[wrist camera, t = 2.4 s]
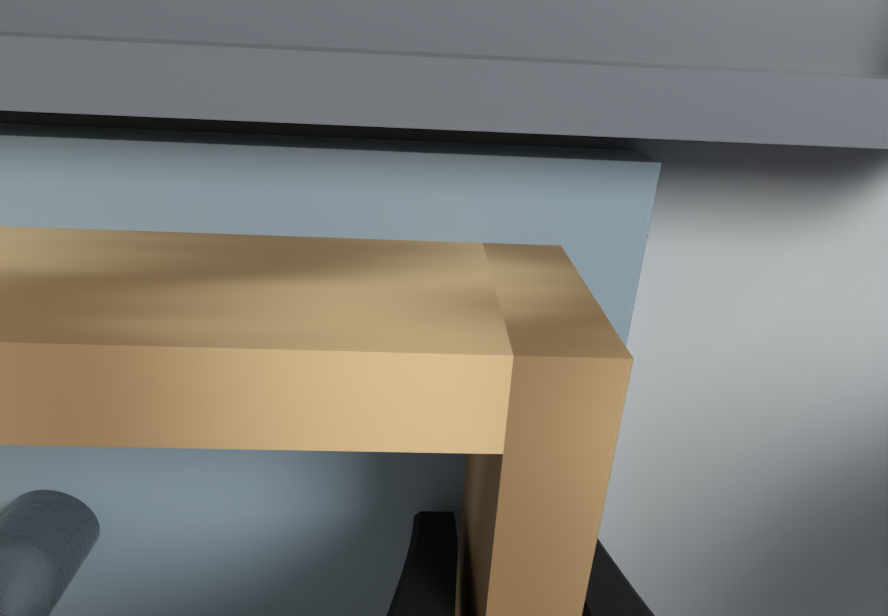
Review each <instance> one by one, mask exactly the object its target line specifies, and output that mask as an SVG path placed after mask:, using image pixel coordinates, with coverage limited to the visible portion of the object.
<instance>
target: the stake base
mask: <svg viewBox="0 0 888 616" xmlns="http://www.w3.org/2000/svg"><path fill="white" fill-rule="evenodd" d="M661 164H662V163H661V162H659V161H658V160H656V159H654V158H652V157H650V156H649V155H647V154H645V153H643V152H641V151H640V150H620V149H597V148H573V147H550V146H526V145H503V144H479V143H456V142H432V141H409V140H385V139H361V138H338V137H314V136H291V135H267V134H244V133H220V132H197V131H173V130H149V129H126V128H102V127H79V126H55V125H32V124H8V123H0V226H15V227H43V228H72V229H101V230H130V231H158V232H187V233H216V234H245V235H274V236H302V237H331V238H360V239H389V240H417V241H446V242H475V243H504V244H532V245H561V246H562V248H563V249H564V251H565V253H566V254H567V256H568V257H569V259H570V260H571V262H572V263H573V265H574V267H575V268H576V270H577V271H578V273H579V274H580V276H581V278H582V279H583V281H584V282H585V284H586V285H587V287H588V289H589V290H590V292H591V293H592V295H593V296H594V298H595V299H596V301H597V303H598V304H599V306H600V307H601V309H602V310H603V312H604V314H605V315H606V317H607V318H608V320H609V321H610V323H611V324H612V326H613V328H614V329H615V331H616V332H617V334H618V335H619V337H620V339H621V340H622V342H623V343H624V345H625V346H626V344H627V339H628V334H629V329H630V324H631V319H632V313H633V308H634V303H635V298H636V293H637V288H638V282H639V277H640V272H641V267H642V262H643V257H644V251H645V246H646V241H647V236H648V231H649V226H650V220H651V215H652V210H653V205H654V200H655V195H656V189H657V184H658V179H659V174H660V169H661ZM465 465H466V453H412V452H357V451H303V450H248V449H194V448H139V447H85V446H30V445H0V516H1V515H2V514H3V513H4V512H5V511H6V510H7V508H8V507H9V506H10V505H11V504H12V503H13V502H14V500H15V499H16V498H18V497H19V496H21V495H22V494H24V493H27V492H30V491H34V490H54V491H59V492H63V493H66V494H69V495H71V496H73V497H75V498H77V499H79V500H80V501H82V502H83V503H84V504H86V505H87V506H88V507H89V508H90V509H91V510H92V511H93V513H94V514H95V516H96V518H97V519H98V522H99V526H100V534H99V538H98V540H97V542H96V543H95V545H94V546H93V548H92V550H91V551H90V553H89V554H88V556H87V557H86V559H85V561H84V562H83V564H82V565H81V567H80V568H79V570H78V571H77V573H76V575H75V576H74V578H73V579H72V581H71V582H70V584H69V586H68V587H67V589H66V590H65V592H64V593H63V595H62V596H61V598H60V600H59V601H58V603H57V604H56V606H55V607H54V609H53V610H52V612H51V614H50V615H49V616H387V613H388V610H389V608H390V605H391V602H392V599H393V596H394V594H395V591H396V588H397V585H398V582H399V580H400V577H401V574H402V570H403V567H404V564H405V560H406V557H407V553H408V549H409V545H410V540H411V535H412V530H413V519H414V516H415V515H416V514H417V513H419V512H420V511H436V512H454V514H455V522H456V530H457V539H458V557H459V544H460V530H461V517H462V504H463V491H464V478H465ZM457 570H458V559H457ZM456 583H457V582H456Z"/></svg>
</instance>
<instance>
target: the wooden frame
mask: <svg viewBox="0 0 888 616" xmlns="http://www.w3.org/2000/svg"><path fill="white" fill-rule="evenodd" d="M632 363H633V357H632V356H631V354H630V353H629V351H628V350H627V348H626V346H625V345H624V343H623V342H622V340H621V339H620V337H619V335H618V334H617V332H616V331H615V329H614V328H613V326H612V324H611V323H610V321H609V320H608V318H607V317H606V315H605V314H604V312H603V310H602V309H601V307H600V306H599V304H598V303H597V301H596V299H595V298H594V296H593V295H592V293H591V292H590V290H589V289H588V287H587V285H586V284H585V282H584V281H583V279H582V278H581V276H580V274H579V273H578V271H577V270H576V268H575V267H574V265H573V263H572V262H571V260H570V259H569V257H568V256H567V254H566V253H565V251H564V249H563V248H562V246H561V245H532V244H504V243H475V242H446V241H417V240H389V239H360V238H331V237H302V236H274V235H245V234H216V233H187V232H158V231H130V230H101V229H72V228H43V227H15V226H0V445H30V446H85V447H139V448H194V449H248V450H303V451H357V452H412V453H466V465H465V478H464V491H463V504H462V517H461V530H460V544H459V557H458V570H457V583H456V604H455V616H582V612H583V607H584V602H585V597H586V592H587V587H588V582H589V577H590V572H591V567H592V562H593V557H594V552H595V547H596V542H597V537H598V532H599V527H600V522H601V517H602V513H603V508H604V503H605V498H606V493H607V488H608V483H609V478H610V473H611V468H612V463H613V458H614V453H615V448H616V443H617V438H618V433H619V428H620V423H621V418H622V413H623V408H624V403H625V398H626V393H627V388H628V383H629V378H630V373H631V368H632Z"/></svg>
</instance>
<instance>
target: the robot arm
mask: <svg viewBox="0 0 888 616" xmlns="http://www.w3.org/2000/svg"><path fill="white" fill-rule="evenodd" d="M457 559H458V539H457V530H456V522H455V514H454V512H436V511H420V512H419V513H417V514H416V515H415V516H414V519H413V530H412V535H411V540H410V545H409V549H408V553H407V557H406V560H405V564H404V567H403V570H402V574H401V577H400V580H399V582H398V585H397V588H396V591H395V594H394V596H393V599H392V602H391V605H390V608H389V610H388V613H387V616H455V604H456V582H457ZM582 616H655V615H654V614H653V613H652V612H651V610H650V609H649V608H648V606H647V605H646V604H645V603H644V601H643V600H642V599H641V597H640V596H639V595H638V594H637V592H636V591H635V590H634V588H633V587H632V586H631V584H630V583H629V582H628V580H627V579H626V578H625V576H624V575H623V573H622V572H621V571H620V569H619V568H618V566H617V565H616V564H615V562H614V561H613V560H612V558H611V557H610V555H609V554H608V552H607V551H606V550H605V548H604V547H603V545H602V544H601V542H600V541H599V539H598V538H597V542H596V547H595V552H594V557H593V562H592V567H591V572H590V577H589V582H588V587H587V592H586V597H585V602H584V607H583V612H582Z"/></svg>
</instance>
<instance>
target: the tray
mask: <svg viewBox="0 0 888 616" xmlns="http://www.w3.org/2000/svg"><path fill="white" fill-rule="evenodd" d="M0 110H2V111H25V112H48V113H71V114H94V115H117V116H140V117H163V118H186V119H209V120H232V121H255V122H278V123H301V124H324V125H347V126H370V127H393V128H416V129H439V130H462V131H485V132H508V133H531V134H554V135H577V136H600V137H624V138H647V139H670V140H693V141H716V142H739V143H762V144H785V145H808V146H831V147H854V148H877V149H888V0H0Z"/></svg>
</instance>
